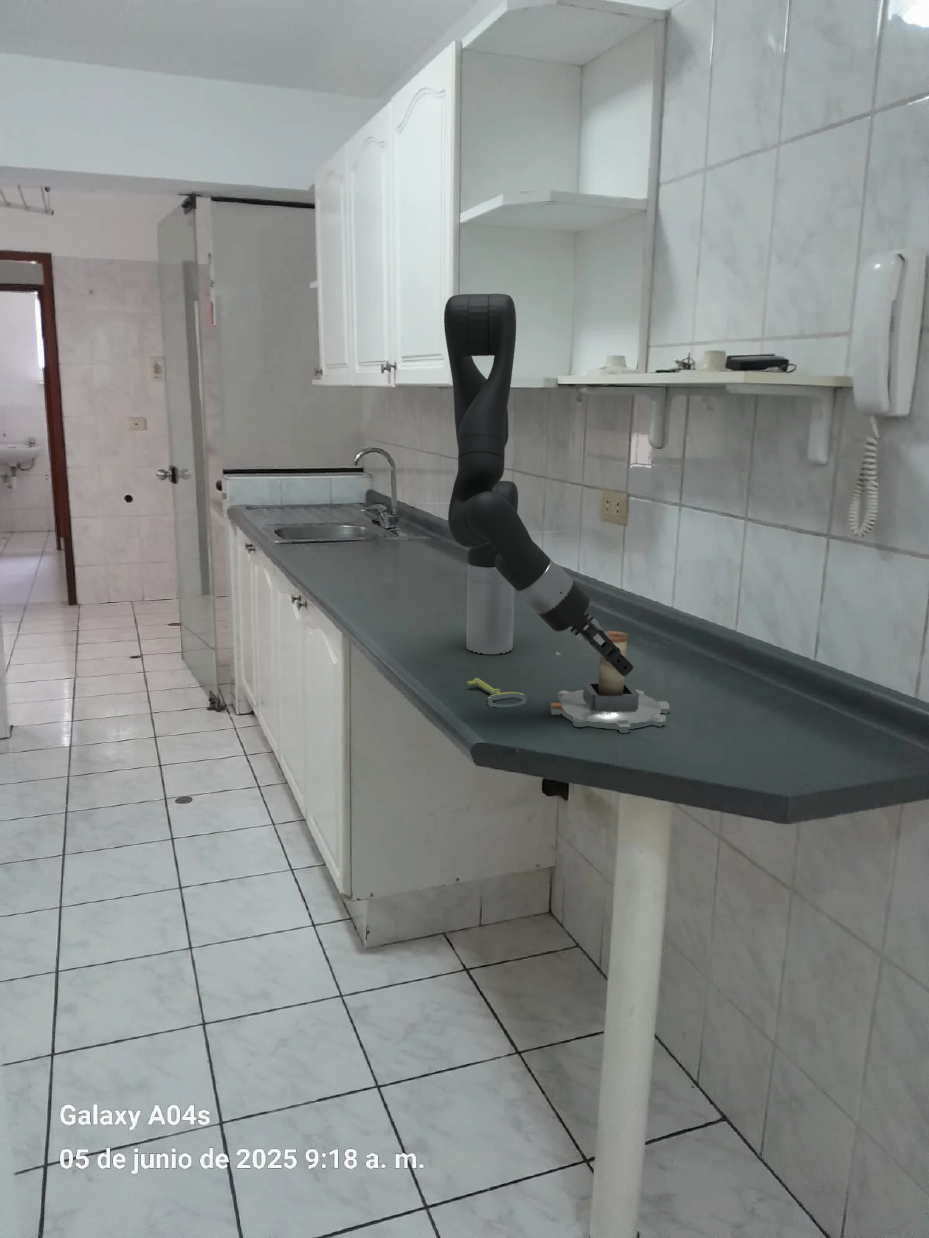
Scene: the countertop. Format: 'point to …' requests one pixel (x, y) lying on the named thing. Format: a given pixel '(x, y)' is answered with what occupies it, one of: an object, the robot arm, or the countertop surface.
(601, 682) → the pin
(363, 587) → the countertop surface
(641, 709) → the sprocket plate
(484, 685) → the key
